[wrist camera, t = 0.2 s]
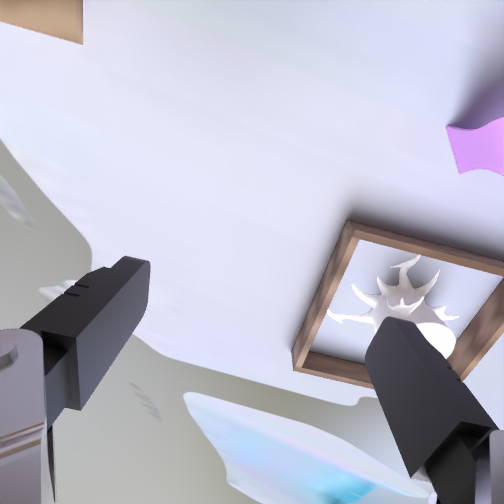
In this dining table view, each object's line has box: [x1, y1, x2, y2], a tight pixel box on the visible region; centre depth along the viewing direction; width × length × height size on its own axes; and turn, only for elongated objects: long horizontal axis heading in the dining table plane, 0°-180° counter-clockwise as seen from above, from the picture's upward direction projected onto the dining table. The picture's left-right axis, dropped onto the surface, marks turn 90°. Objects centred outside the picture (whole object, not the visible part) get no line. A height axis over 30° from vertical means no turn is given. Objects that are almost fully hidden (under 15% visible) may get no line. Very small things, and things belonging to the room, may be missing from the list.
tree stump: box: [327, 255, 459, 359], centre depth 40 cm, size 20×19×8 cm
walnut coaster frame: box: [291, 220, 504, 389], centre depth 41 cm, size 25×26×4 cm
